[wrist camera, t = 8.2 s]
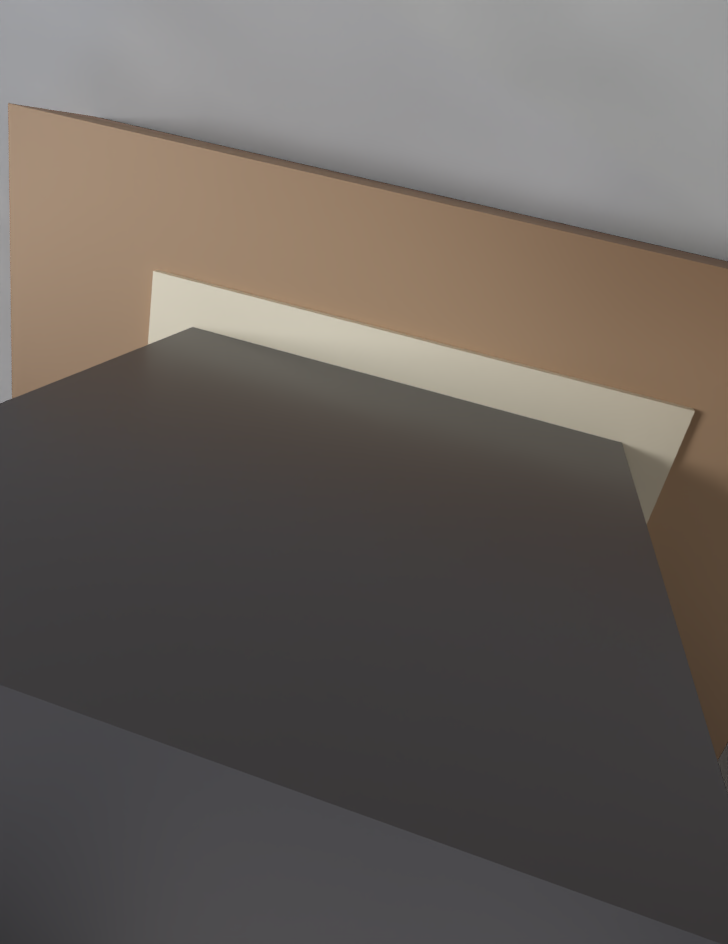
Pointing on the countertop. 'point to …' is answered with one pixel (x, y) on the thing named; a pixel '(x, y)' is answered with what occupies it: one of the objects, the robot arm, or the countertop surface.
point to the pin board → (389, 311)
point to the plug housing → (336, 669)
